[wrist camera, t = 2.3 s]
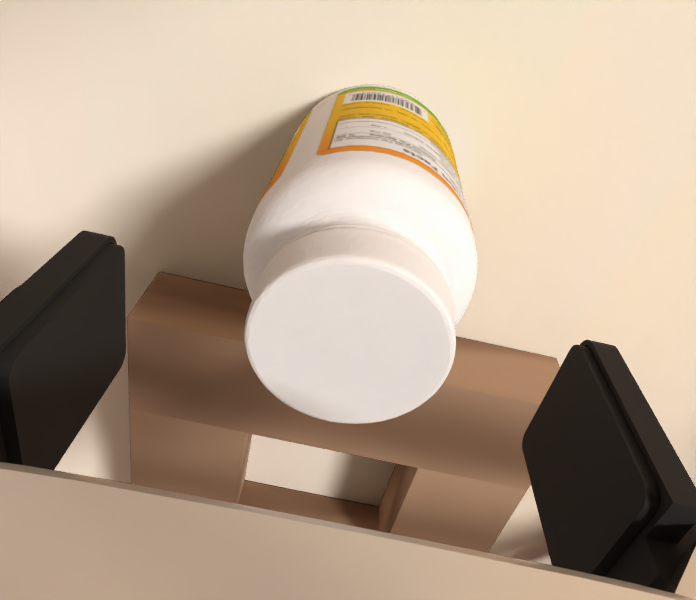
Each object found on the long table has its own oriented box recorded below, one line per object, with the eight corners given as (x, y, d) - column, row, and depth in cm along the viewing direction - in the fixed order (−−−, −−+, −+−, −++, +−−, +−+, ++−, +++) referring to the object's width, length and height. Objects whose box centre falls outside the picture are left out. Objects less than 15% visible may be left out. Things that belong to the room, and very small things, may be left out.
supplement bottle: (342, 261, 20) (305, 478, 12) (259, 134, 18) (144, 300, 10) (480, 196, 19) (540, 401, 11) (407, 45, 16) (413, 161, 8)
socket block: (158, 271, 21) (127, 317, 19) (556, 358, 22) (576, 412, 20) (155, 515, 30) (133, 567, 28) (438, 570, 31) (441, 626, 29)
